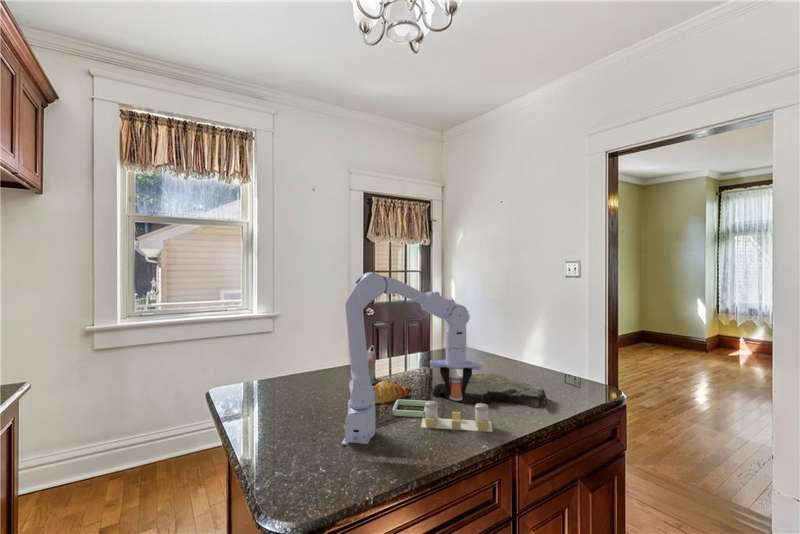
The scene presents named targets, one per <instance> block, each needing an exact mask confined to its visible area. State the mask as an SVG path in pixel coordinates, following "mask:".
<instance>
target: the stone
mask: <svg viewBox="0 0 800 534" xmlns="http://www.w3.org/2000/svg"><path fill="white" fill-rule="evenodd" d="M453 376H454V375H452V376H451V377H453ZM460 377H461V378H463V376H460ZM449 383H450V377H449ZM462 387H463V381H462ZM442 394H443V396H444V398H445V399H447V400H449V401H452V400H451V399H450V395H447V389H446V386H445V383H444V380H443V381H440V382H438V383H436V384H435V385H434V387H433V390H432V396H434V397H435V398H440V399H443V398H442V397H443V396H441V395H442ZM547 398H548V397H547V395H546V391H545V389H544V388H542V387H538V386H535V385H533V384H529V383H524V382H522V381H519V380H514V379H512V378H509V377H508V376H506V375H503V374H497V373H491V372H489V373H479V374H478V373H472V375H471V377H470V379H469V382H468V384H467V387H466V391H465V396H463V399H462V400H458V401H456V400H453V401H455V402H461V403H463V404H465V405H472V406H475V405H476V404H478V403H483V404H486V405H488V406H489V405H490V404H492V403H494V404H499V403H500V404H501V403H502V404H504V403H505V404H515V405H521V406H525V407H530V408H533V409H539V408H541V407H543V408H547V403H548V401H547Z"/></svg>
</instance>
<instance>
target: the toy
mask: <svg viewBox="0 0 800 534" xmlns="http://www.w3.org/2000/svg"><path fill="white" fill-rule="evenodd" d="M367 360H368V370H369V376H370V380H371V384H372V385H376V384H377V383H376V381H375V364H376V362H377V361H376V353H375V346H374V345H371V346H370V347H369V348H368V350H367Z"/></svg>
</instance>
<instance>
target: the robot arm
mask: <svg viewBox="0 0 800 534" xmlns="http://www.w3.org/2000/svg"><path fill="white" fill-rule="evenodd" d="M383 294H385V295H390V294H397V295H399V296H401V297H404V298H406V299H409V300H411V301H414V302H416V303H418V304H419V306H420V307H421V310H422V311H424V312H426V313H428V314H430V315H433V316H435V317H437V318H439V319H441V320H445V359H436V360H435V359H433V360H432V359H430V361H429V369H430V370H431V369H432V370H433V369H434V370H435V369H440V370H439V373H440V375H441V379H442V380H443V381H444V383H445V386H446V389H447V395H450V383H449V378H450V370H462V377H463V387H462V396H465V391H466V387H467V384H468V382H469V379H470V377H471V375H472V374H473V371H480V372H483V369H484V368H483V367H484V365H483V362H482V361H474V360H467V324H468V322H469V321H470V318H471V314H469V310H468V309H467V307H466V306H464V305H462V304H459V303H456V302H455V299H453V298H450V299H449V298H446V297H444V296H442V295H440V294H441V293H440V292H439V291H436V290H434V291H431V290H430V291H427V292H422V291H420V290H418V289H416V288H415V287H413V286H410V285H408V284H406V283H404V282H402V281H401V280H399V279H397V278H394V277H393V278H392V277H389V276H385V275H382V274H380V273H376V272H373V271H368V272H365V273H362V275H361V276H360V277H358V278H357V280H355V282H354V285H353V286H352V288H351V290H350V292H349V294H348V296H347V298H346V299H345V302H344V304H345V305H344V306H345V316H346V318H345V319H346V327H347V329H346V330H347V338H348V350H349V351H348V352H349V358H350V359H349V361H350V374H351V375H350V379H349V383H348V390H349V391H350V392H349V393H350V397H349V399H348V401H347V415H346V418H345V420H344V421H345V422H344V436H345V437H344V438H343V440H342V441H341V445H342V446H348V444H349V443H351V444H352V443H353V444H354V443H355V444H364V445H365V444H366V445H367V444H369V443H370V440H371V439H372V438H373V437H374V436H375V434H376V404H375V400H374V399H375V391H374V389H373V387H372V386H373V384H371V380H370V376H369V370H368V360H367V351H368V350H367V349H368V348H367V338H366V329H365V328H366V327H365V319H364V309H365V308H366V307H367V306H368V305H369V304H370V303H371V302H372V301H373V300H375V299H377V298H379V297H380V296H382V295H383Z"/></svg>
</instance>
